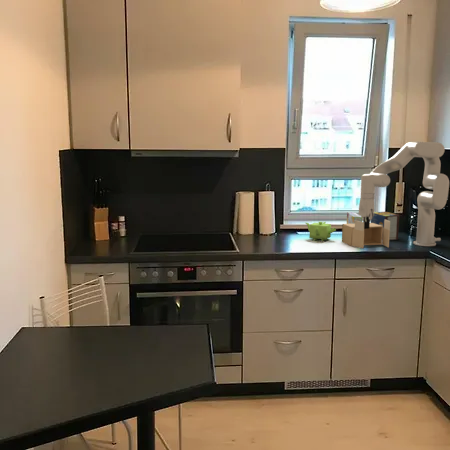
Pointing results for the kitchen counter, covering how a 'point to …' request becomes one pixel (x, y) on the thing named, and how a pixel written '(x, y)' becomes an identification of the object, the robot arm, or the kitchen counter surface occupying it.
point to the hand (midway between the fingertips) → (366, 228)
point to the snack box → (353, 217)
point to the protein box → (391, 217)
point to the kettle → (320, 231)
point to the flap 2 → (386, 233)
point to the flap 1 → (358, 235)
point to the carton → (370, 235)
